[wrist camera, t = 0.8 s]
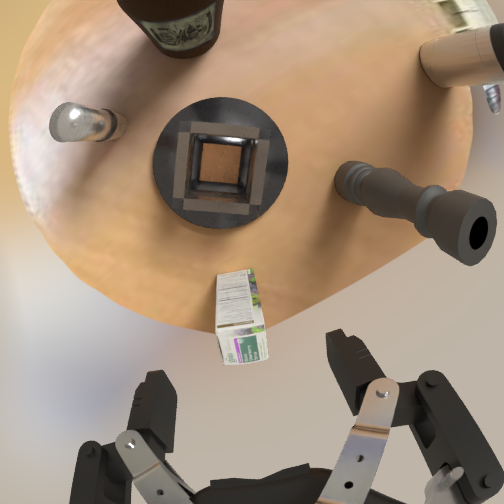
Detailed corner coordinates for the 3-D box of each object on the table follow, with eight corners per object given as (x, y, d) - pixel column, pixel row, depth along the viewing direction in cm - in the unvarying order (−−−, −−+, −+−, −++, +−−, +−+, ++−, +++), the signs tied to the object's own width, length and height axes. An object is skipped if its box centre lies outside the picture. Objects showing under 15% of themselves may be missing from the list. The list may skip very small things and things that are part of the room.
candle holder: (349, 208, 41) (464, 283, 18) (326, 177, 39) (446, 229, 16) (376, 184, 40) (502, 235, 17) (355, 152, 38) (488, 179, 15)
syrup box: (257, 299, 45) (272, 360, 32) (221, 304, 45) (223, 368, 32) (252, 267, 43) (267, 324, 30) (214, 273, 43) (213, 332, 29)
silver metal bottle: (111, 107, 32) (61, 94, 19) (133, 120, 33) (90, 111, 20) (95, 132, 33) (41, 132, 20) (116, 146, 34) (68, 151, 21)
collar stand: (163, 95, 32) (145, 81, 23) (293, 108, 35) (315, 99, 26) (152, 220, 39) (134, 243, 30) (275, 231, 41) (290, 255, 32)
